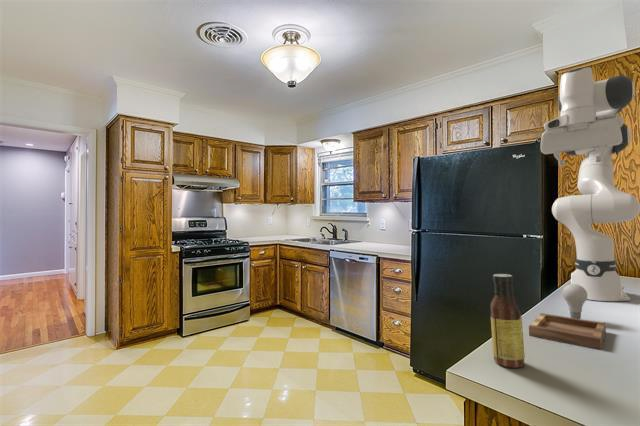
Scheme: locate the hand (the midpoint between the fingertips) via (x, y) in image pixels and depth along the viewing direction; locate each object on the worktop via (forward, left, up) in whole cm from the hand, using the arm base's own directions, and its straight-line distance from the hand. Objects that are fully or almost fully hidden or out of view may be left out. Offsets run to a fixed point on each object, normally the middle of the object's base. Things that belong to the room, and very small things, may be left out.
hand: (580, 164), depth 105 cm
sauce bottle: (+49, -9, -48) cm, 69 cm away
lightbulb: (+5, -2, -48) cm, 48 cm away
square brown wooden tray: (+20, -2, -48) cm, 52 cm away
